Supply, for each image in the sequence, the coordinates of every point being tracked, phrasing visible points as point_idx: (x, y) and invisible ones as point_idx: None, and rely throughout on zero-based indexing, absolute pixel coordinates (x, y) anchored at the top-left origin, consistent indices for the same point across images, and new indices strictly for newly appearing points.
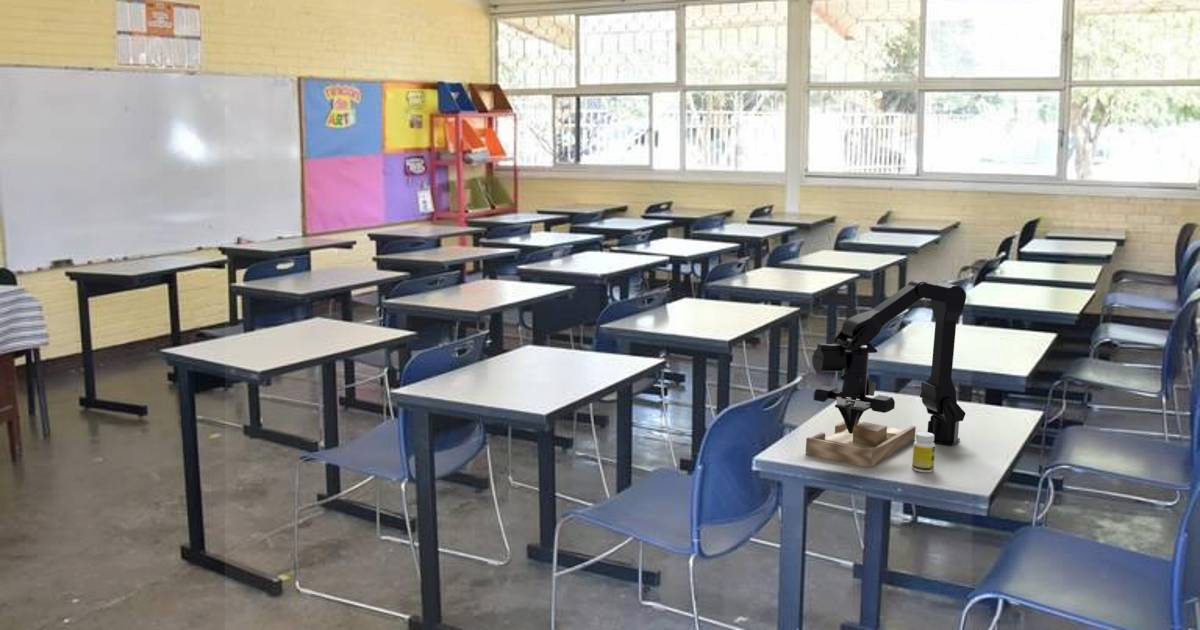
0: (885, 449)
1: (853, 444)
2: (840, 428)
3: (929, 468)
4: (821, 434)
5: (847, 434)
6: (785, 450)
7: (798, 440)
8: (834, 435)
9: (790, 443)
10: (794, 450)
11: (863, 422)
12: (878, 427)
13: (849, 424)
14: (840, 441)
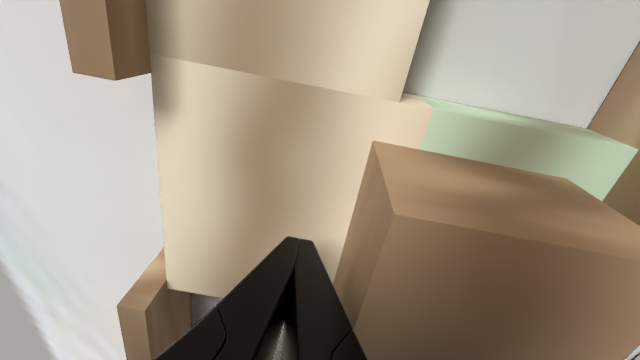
0: None
1: None
2: (131, 33)
3: None
4: (142, 339)
5: (241, 111)
6: (88, 342)
7: (18, 196)
8: (173, 185)
9: (31, 258)
10: (113, 332)
11: (399, 247)
12: (575, 351)
13: (273, 350)
14: None
